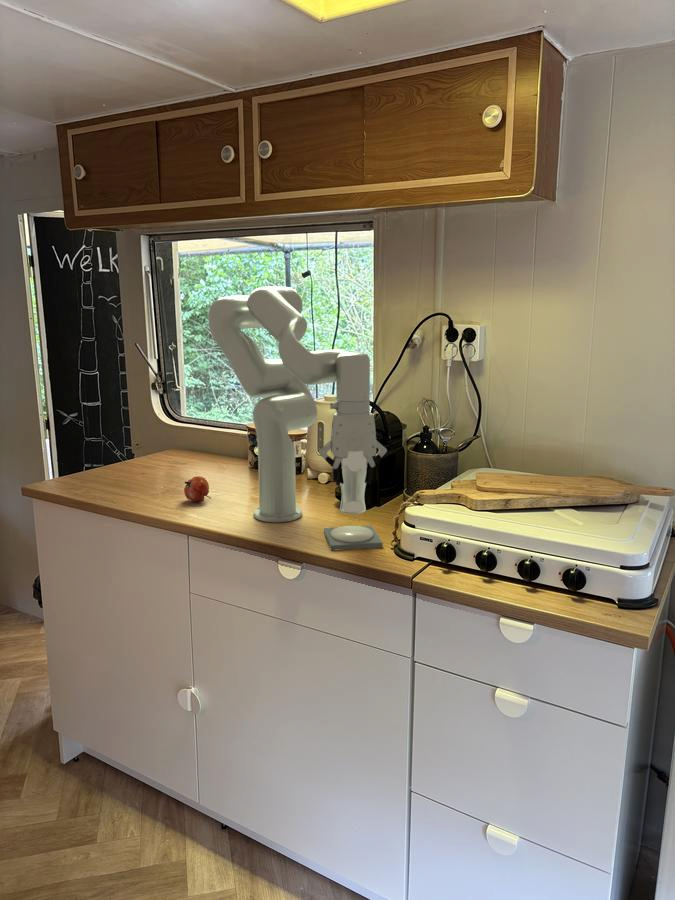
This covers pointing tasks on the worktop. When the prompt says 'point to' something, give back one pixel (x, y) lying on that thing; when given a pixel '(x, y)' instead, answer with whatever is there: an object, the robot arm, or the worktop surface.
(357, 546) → the coaster board
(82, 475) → the worktop surface
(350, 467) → the beer glass
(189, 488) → the pomegranate
